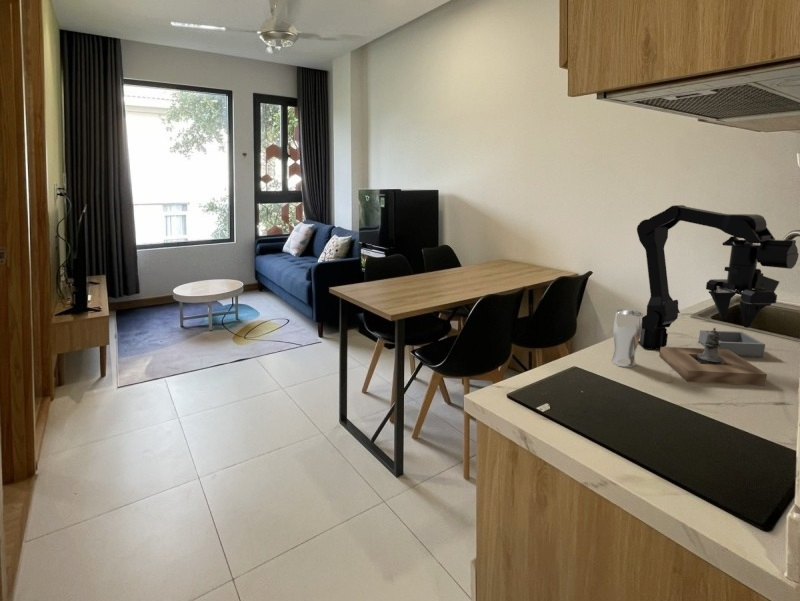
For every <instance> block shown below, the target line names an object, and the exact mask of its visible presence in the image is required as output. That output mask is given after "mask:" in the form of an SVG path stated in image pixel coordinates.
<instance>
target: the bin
mask: <svg viewBox="0 0 800 601" xmlns="http://www.w3.org/2000/svg"><path fill="white" fill-rule="evenodd" d="M709 331H710V330H705V329H704V330H701V329H700V330H699V336H698V343H699V344H700V345H702V346H703V347H704V348H705V344H704V342H706V339H707V333H708V332H709ZM716 331H717V332H719V334H720V338H719V344H720V346H719V347H718V349H728V350H730V351H732V352H733V353H735V354H736V355H738V356H739V357H741V356H742V357H743V358H744V357H745V358H764V353H765V349H766V344H765V343H764V342H762V341H760V340H758V339H756V338H754V337H753V336H751V335H749V334H747V333H745V332H743V331H734V330H733V331H732V330H730V331H727V330H716ZM742 357H741V358H742Z"/></svg>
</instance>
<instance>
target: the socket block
mask: <svg viewBox="0 0 800 601" xmlns="http://www.w3.org/2000/svg"><path fill="white" fill-rule="evenodd" d="M704 350H705V348H702V347H700V348H699V347H697V348H696V347H678V346H677V347H675V346H674V347H673V346H670V347H669V346H665V347H661V348H660V351H659V356H658V357H660V358H661V359H662V360H663V361H664V362H665V363H666V364H667V365H668V366H669V367H670V368H671V369H673V370H674V371H675V372H676V373H677V374H678V375H679V376H680V377H681V378H683V379H684V381H686V382H691V383H707V384H708V383H710V384H711V383H712V384H727V385H728V384H729V385H732V384H733V385H748V386H751V385H752V386H766V382H767V378H768V374H767V373H766V372H764V371H763V370H761V369H760V368H758V367H757V366H755V365H754V364H752V363H751V362H749V361H748V360H746V359H744V357H743V358H742V357H741V356H738V355H736V354H735V353H733V352H732V351H730V350H728V349H718V356H719V357H721V358H722V359H723V361H722V362H721V364H720V365H713V364H700V363H699V361H698V357H697V355H698V354H702V353H703V352H704Z"/></svg>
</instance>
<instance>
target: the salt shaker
mask: <svg viewBox="0 0 800 601" xmlns="http://www.w3.org/2000/svg"><path fill="white" fill-rule="evenodd" d="M708 331H709V332H708V333H707V339H706V342H704V344H705V347H704V349H705V350H704V352H703V353H702V354H698V355H697V357H698V361H699V363H700V364H713V365H720V364H721V362H722V361H723V359H722V358H721V357H719V356H718V347H719V346H720V344H719V338H720V334H719V332H717V331H718V330H717V328H716V327H713V329H712V330H708Z"/></svg>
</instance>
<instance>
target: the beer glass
mask: <svg viewBox="0 0 800 601" xmlns="http://www.w3.org/2000/svg"><path fill="white" fill-rule="evenodd" d="M642 318H643V312H642V311H639V310H635V309H626V308H625V309H623V308H622V309H617V310H616V311H615V316H614V320H613V321H614V322H613V331H612V332H613V342H614V343H613V344H614V350H613V351H614V352H613V355H612V359H611V363H612V364H613V365H614V366H618V367H622V368H634V367H635V366H636V350H637V348H638V345H639V343H638V342H639V341H640V335H641V330H642Z"/></svg>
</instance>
